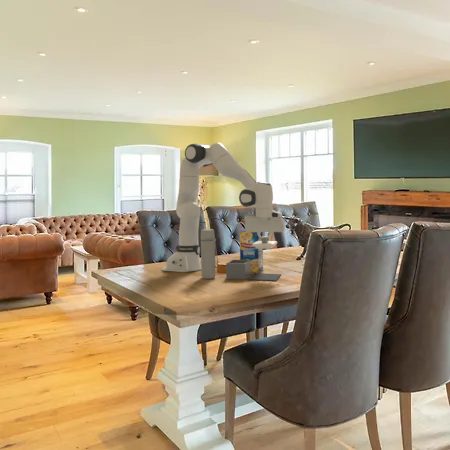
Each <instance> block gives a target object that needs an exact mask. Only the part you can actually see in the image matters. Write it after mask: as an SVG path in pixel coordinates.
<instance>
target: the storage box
mask: <svg viewBox="0 0 450 450" xmlns="http://www.w3.org/2000/svg"><path fill="white" fill-rule="evenodd" d="M225 267H226V269H225V272H226V273H225V275H226V279H227V280H246V279H249V278H250V277H251V276H252V275H251V274H252V272H251V268H250V260H240V259H231V260H229V261H227V262H226V263H225Z"/></svg>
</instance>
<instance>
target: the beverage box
mask: <svg viewBox="0 0 450 450" xmlns="http://www.w3.org/2000/svg"><path fill="white" fill-rule="evenodd" d="M263 233H264V232H261V234H260V236H261V237H263V236H264V234H263ZM256 241H260V239H259V236H258V235H257V232H246V231H245V230H242V231H239V260H250V268H251V273H260V272H262V271H264V249H256V247H252V244H253V243H255V242H256Z"/></svg>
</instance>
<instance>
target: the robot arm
mask: <svg viewBox="0 0 450 450" xmlns="http://www.w3.org/2000/svg"><path fill="white" fill-rule="evenodd" d="M184 156H185V157H184V158H183V159H182V160H181V164H180V168H179V180H178V184H179V185H178V194H177V201H176V209H175V213H176V215H177V216H178V218H179V227H178V228H179V229H178V245H176V246H175V248H174V250H176V251H175V252H174V253H172V255H170V256H169V257H168V258H167V259H166V265H165V266H164V267H162V271H165V272H176V273H177V272H178V273H187V272H197V271H201V257H200V254H201V247H200V244H199V227H200V217H201V208H200V206H199V204H198V203H197V199H198V193H199V191H200V187H199V186H200V185H199V184H200V170H201V168H202V167H203V168H205V167H207V166H208V167H209V166H213V167H214V168H215V169H216V171H218V173H219V174H221V175H222V176H223V177H225V178H230V179H233V180H236V181H238V182H240V183H241V185H243V186H244V189H242V190H241V191H240V192H239V194H238V200H239V204H240V205H241V206H243V207H245V208H255V213H247V214H245V215H244V222H245V223H244V231H246V232H257V235H258V236H259V239H260V241H262V237H261V236H260V234H261V232H263V233H268V234H269V235H268V237H267V241H271V237H272V235H273V233H283V232H285V230H286V227H285V220H284V218H283V213H282V212H281V211H278V210H274V206H273V200H274V192H273V187H272V184H271V183H270V182H267V181H257V182H256V180H255V179H254V178H253V176H251V175H250V173H249V172H248V171H247V170H246V169H245V168H244V167H243V166H242V165H241V164H240V163H239V162H238V161H237V159H236V158H235V157H234V155H232V153H231V152H230V151H229V149H227V147H225V145H223V143H220V142H214V143H212V144H210V145H207V144H200V143H191V144H189V145H187V146H186V148H185V150H184Z"/></svg>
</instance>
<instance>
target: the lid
mask: <svg viewBox="0 0 450 450" xmlns="http://www.w3.org/2000/svg"><path fill="white" fill-rule="evenodd" d="M267 237H269V235H263V237H262V241H256V242H255V243H253V244H252V247H256V249H263V250H266V249H267V250H269V249H273V248H274V247H275V246H276V245H277V244H278V241H277V240H270V241H267Z"/></svg>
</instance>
